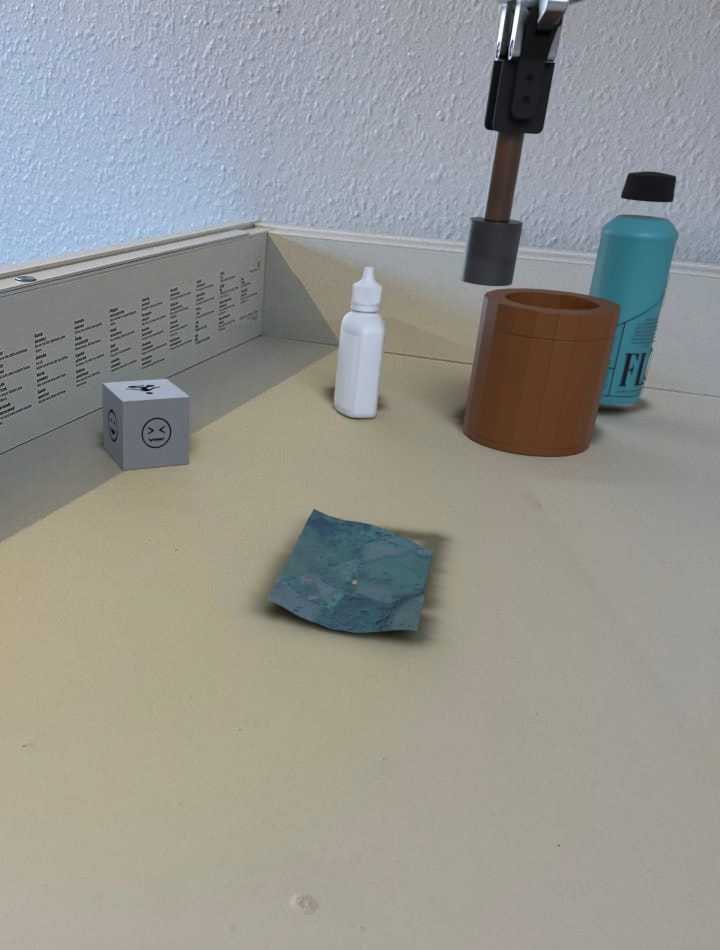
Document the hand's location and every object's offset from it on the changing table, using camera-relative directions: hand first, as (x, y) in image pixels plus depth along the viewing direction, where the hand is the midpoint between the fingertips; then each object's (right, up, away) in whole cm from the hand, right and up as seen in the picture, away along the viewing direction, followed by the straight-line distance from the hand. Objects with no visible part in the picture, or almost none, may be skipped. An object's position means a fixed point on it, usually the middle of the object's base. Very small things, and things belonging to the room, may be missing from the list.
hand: (512, 129), depth 65 cm
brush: (-1, -8, +5) cm, 10 cm away
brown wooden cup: (+6, -16, +18) cm, 25 cm away
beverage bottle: (+15, -13, +26) cm, 33 cm away
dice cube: (-25, -20, +9) cm, 33 cm away
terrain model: (-11, -31, -9) cm, 34 cm away
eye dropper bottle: (-8, -13, +23) cm, 27 cm away
